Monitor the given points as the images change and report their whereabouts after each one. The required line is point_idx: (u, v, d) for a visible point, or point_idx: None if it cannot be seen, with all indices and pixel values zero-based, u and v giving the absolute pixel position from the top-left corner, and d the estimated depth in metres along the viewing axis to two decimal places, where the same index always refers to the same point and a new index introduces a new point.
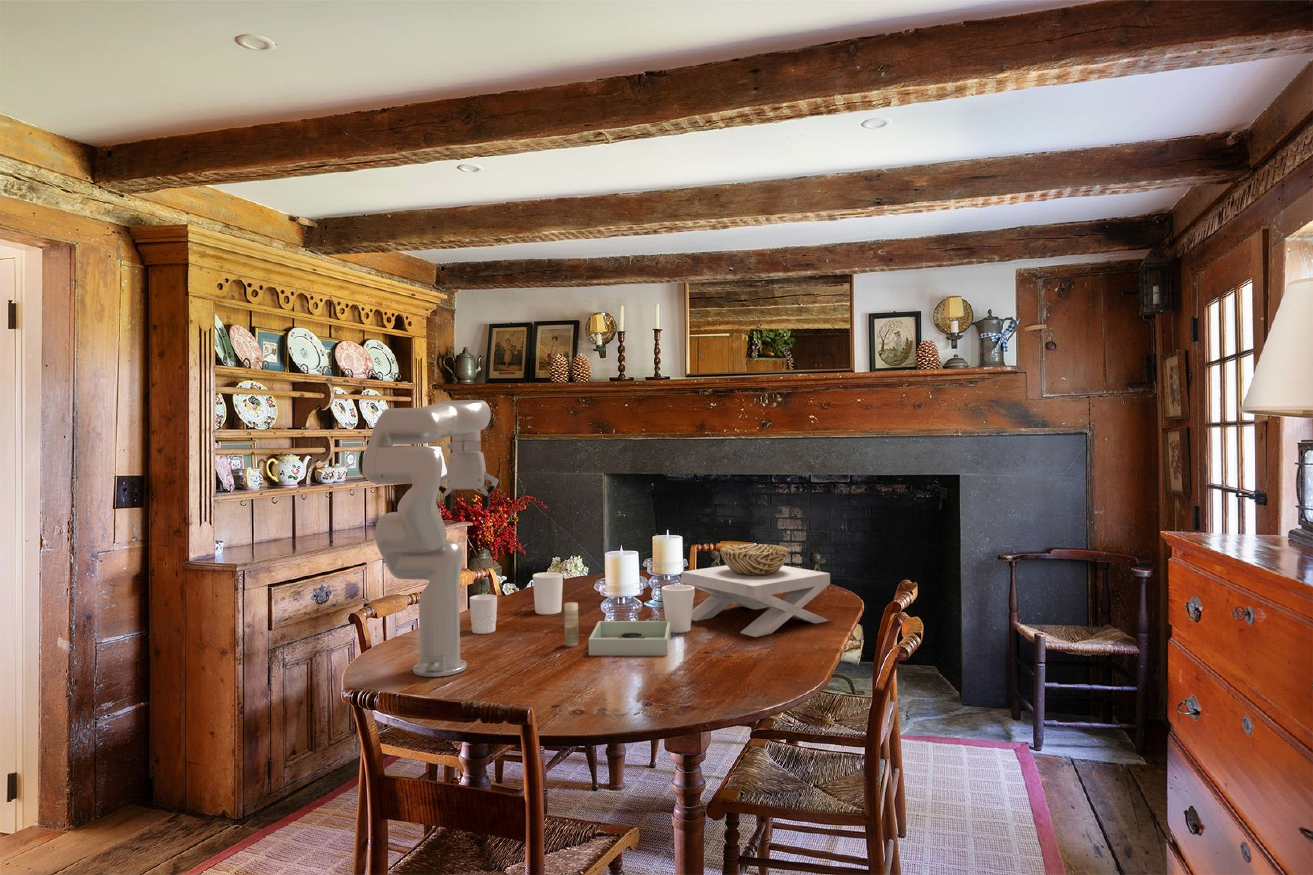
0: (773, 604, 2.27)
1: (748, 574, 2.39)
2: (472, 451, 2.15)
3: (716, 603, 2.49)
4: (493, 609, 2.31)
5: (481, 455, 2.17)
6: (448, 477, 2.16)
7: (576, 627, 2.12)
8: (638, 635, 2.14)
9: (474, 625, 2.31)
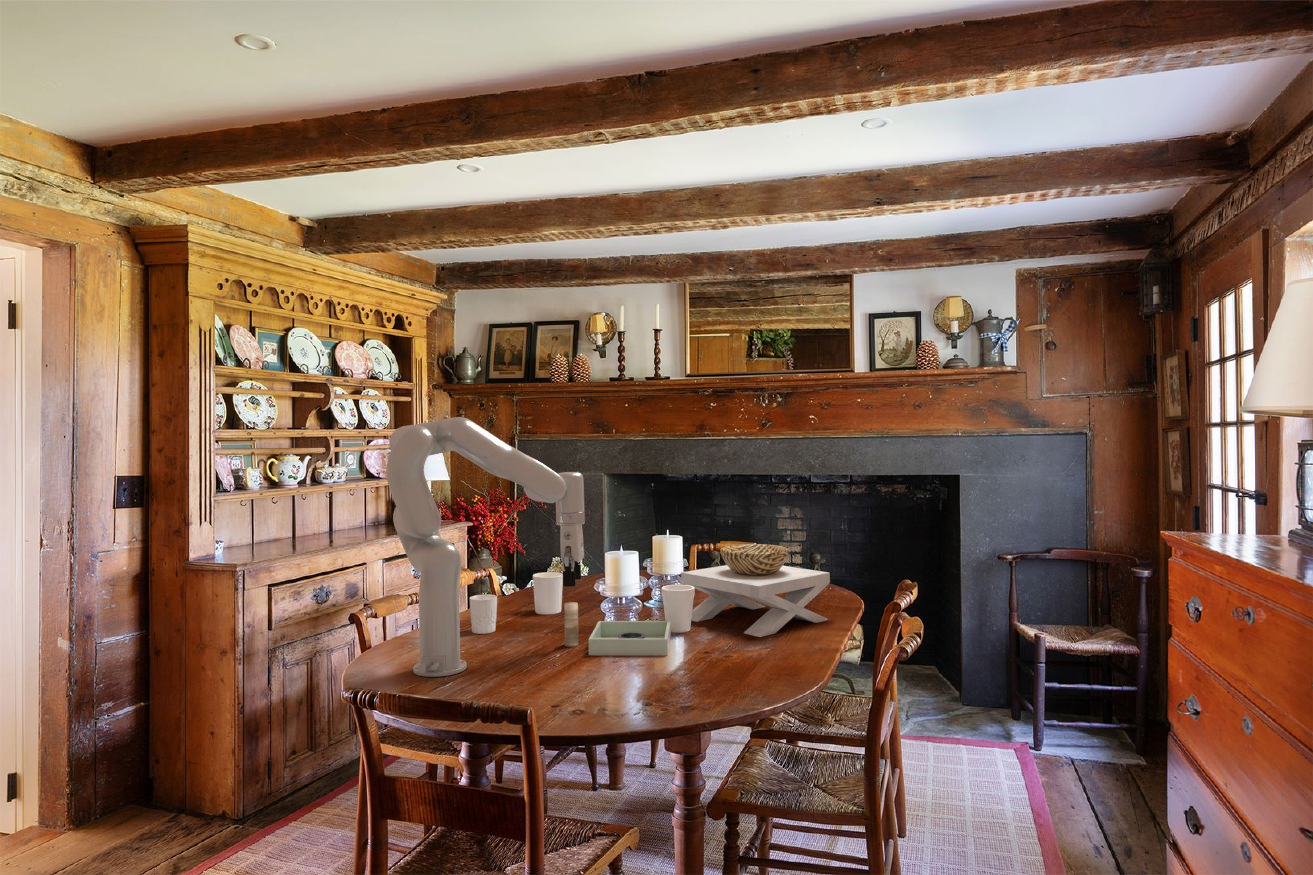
0: (776, 604, 2.27)
1: (749, 574, 2.39)
2: None
3: (715, 604, 2.48)
4: (493, 609, 2.31)
5: None
6: (578, 550, 2.08)
7: (576, 627, 2.12)
8: (638, 635, 2.14)
9: (474, 625, 2.31)
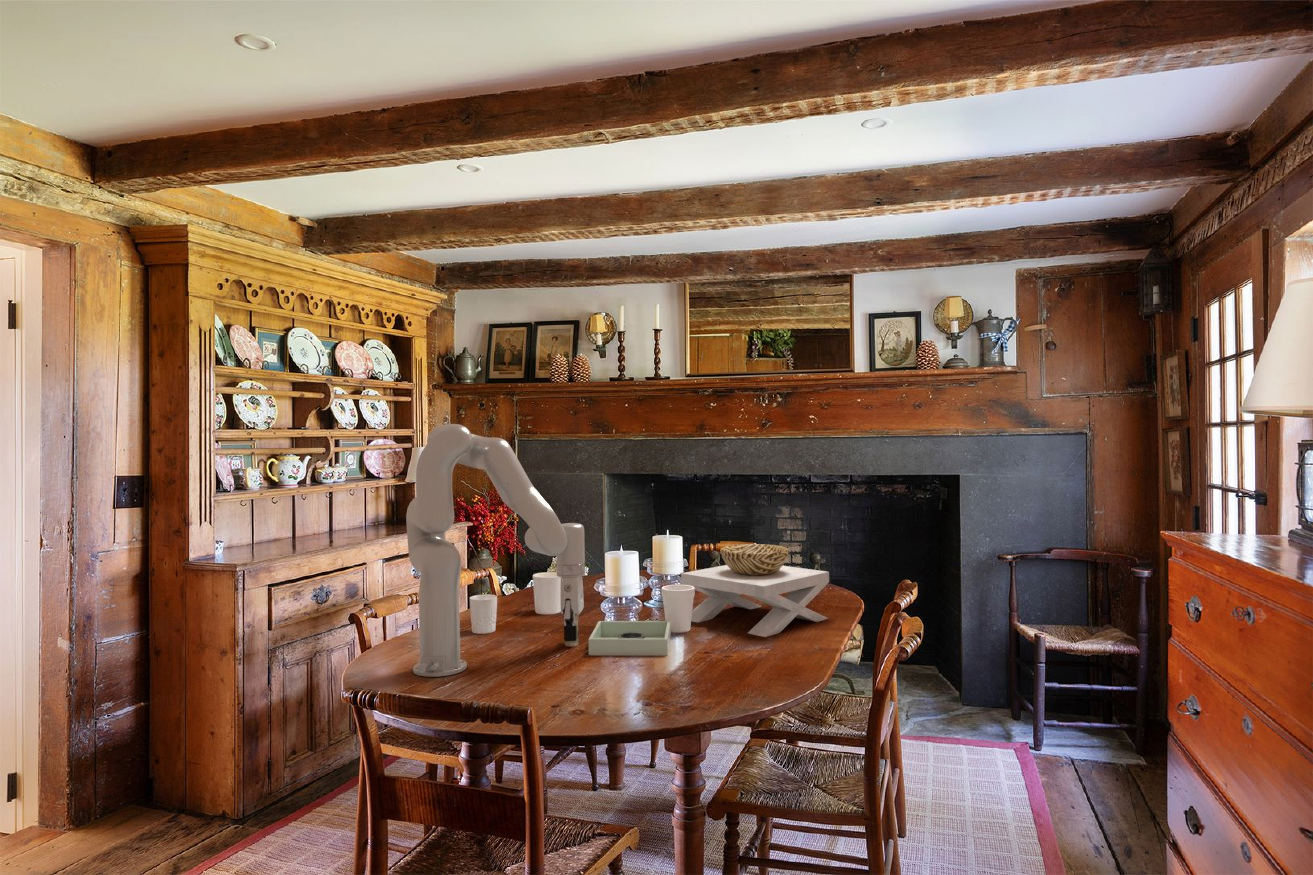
0: (780, 604, 2.27)
1: (751, 574, 2.39)
2: None
3: (715, 604, 2.47)
4: (493, 609, 2.31)
5: None
6: (578, 603, 2.08)
7: (576, 627, 2.12)
8: (638, 635, 2.14)
9: (474, 625, 2.31)
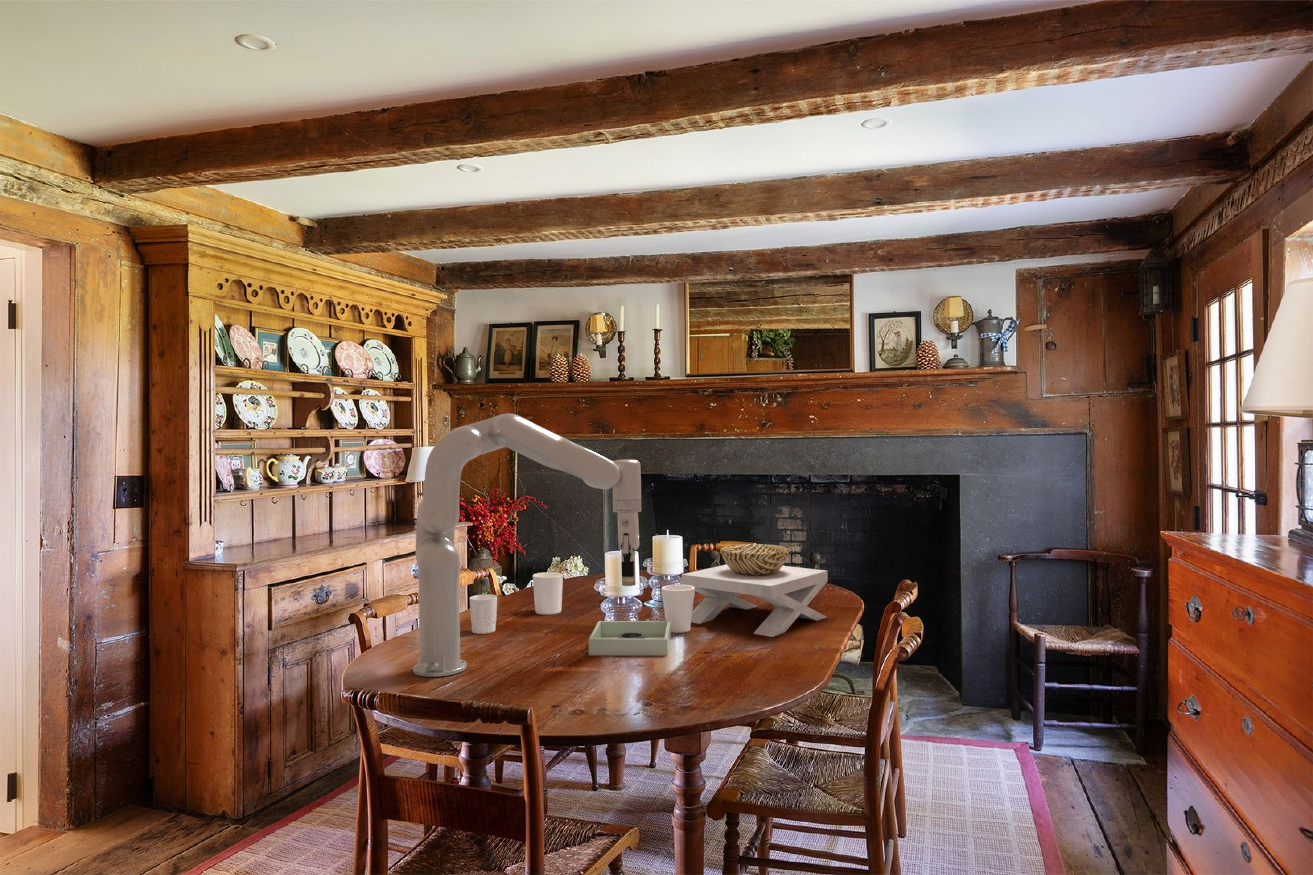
0: (785, 603, 2.28)
1: (753, 574, 2.38)
2: None
3: (714, 605, 2.46)
4: (493, 609, 2.31)
5: None
6: (636, 538, 2.07)
7: None
8: (638, 635, 2.14)
9: (474, 625, 2.31)
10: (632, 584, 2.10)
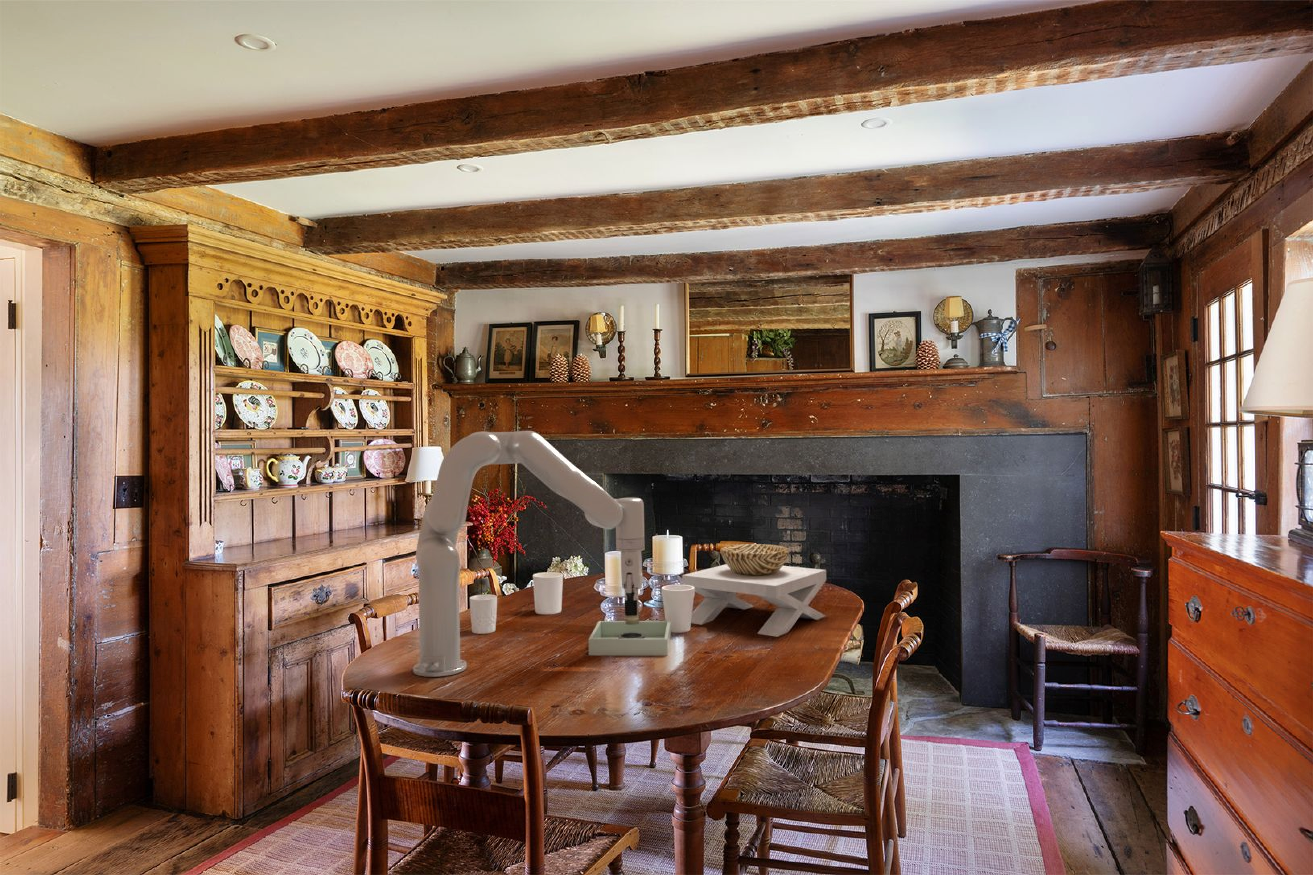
0: (789, 603, 2.28)
1: (754, 574, 2.38)
2: None
3: (714, 606, 2.46)
4: (493, 609, 2.31)
5: None
6: (639, 577, 2.07)
7: (637, 601, 2.11)
8: (638, 635, 2.14)
9: (474, 625, 2.31)
10: (635, 623, 2.10)
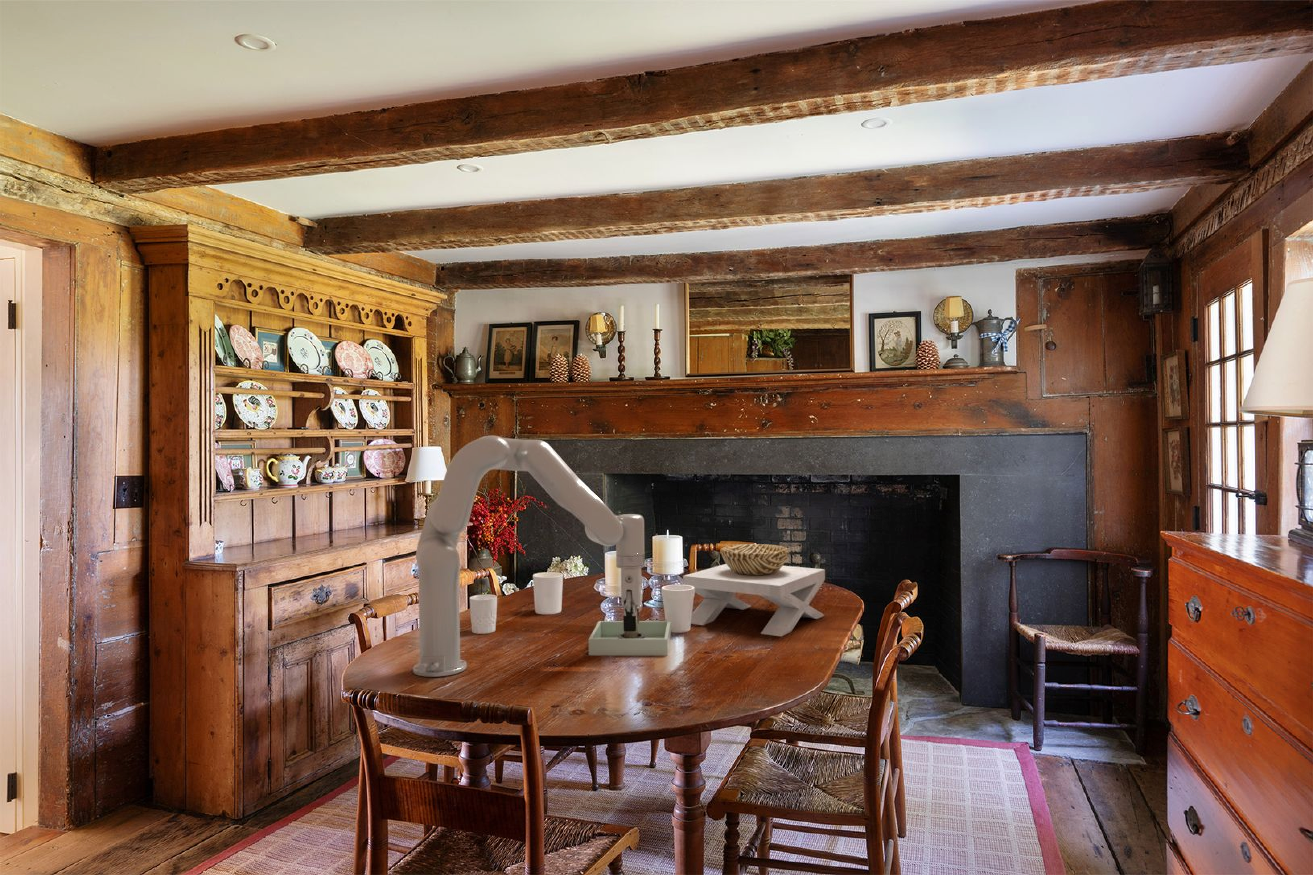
0: (791, 602, 2.29)
1: (755, 574, 2.38)
2: None
3: (715, 606, 2.45)
4: (493, 609, 2.31)
5: None
6: (639, 594, 2.07)
7: (636, 623, 2.10)
8: (638, 635, 2.14)
9: (474, 625, 2.31)
10: None
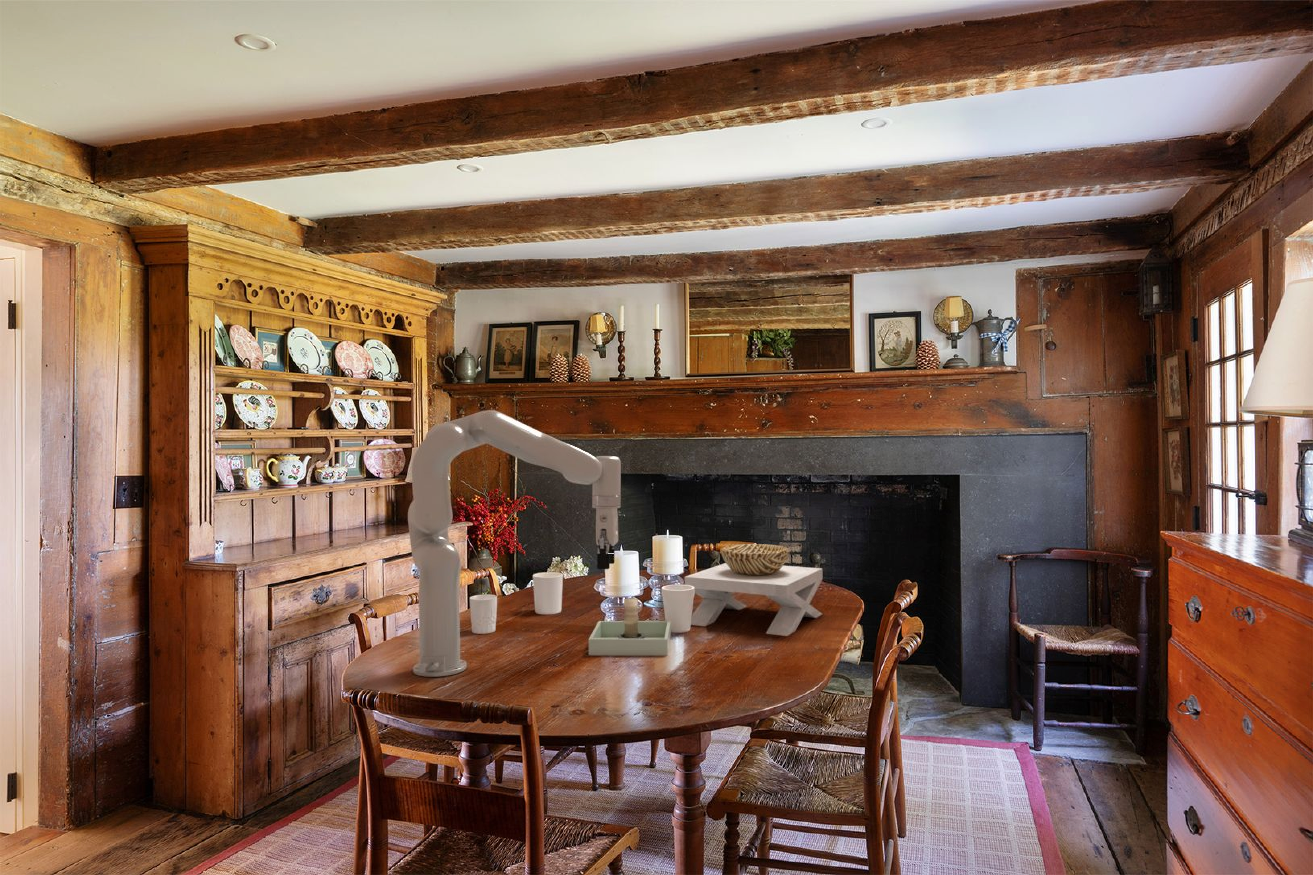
0: (795, 602, 2.30)
1: (757, 574, 2.38)
2: None
3: (715, 607, 2.44)
4: (493, 609, 2.31)
5: None
6: (613, 533, 2.09)
7: (636, 623, 2.11)
8: (638, 635, 2.14)
9: (474, 625, 2.31)
10: None
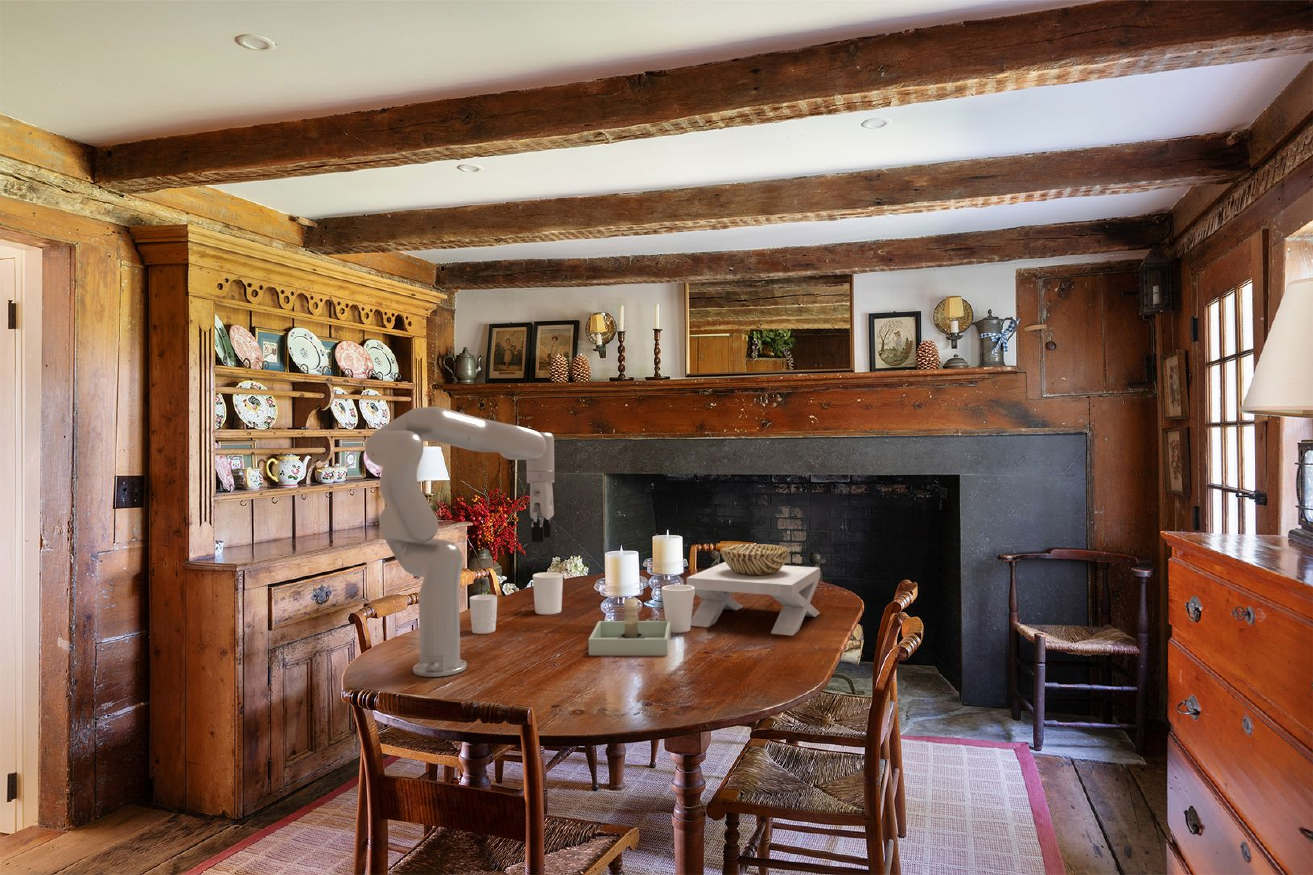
0: (799, 601, 2.30)
1: (759, 574, 2.38)
2: None
3: (716, 607, 2.43)
4: (493, 609, 2.31)
5: None
6: (547, 507, 2.15)
7: (636, 623, 2.11)
8: (638, 635, 2.14)
9: (474, 625, 2.31)
10: None
